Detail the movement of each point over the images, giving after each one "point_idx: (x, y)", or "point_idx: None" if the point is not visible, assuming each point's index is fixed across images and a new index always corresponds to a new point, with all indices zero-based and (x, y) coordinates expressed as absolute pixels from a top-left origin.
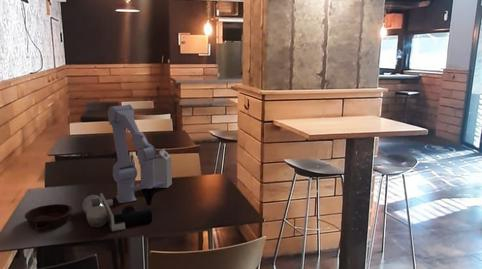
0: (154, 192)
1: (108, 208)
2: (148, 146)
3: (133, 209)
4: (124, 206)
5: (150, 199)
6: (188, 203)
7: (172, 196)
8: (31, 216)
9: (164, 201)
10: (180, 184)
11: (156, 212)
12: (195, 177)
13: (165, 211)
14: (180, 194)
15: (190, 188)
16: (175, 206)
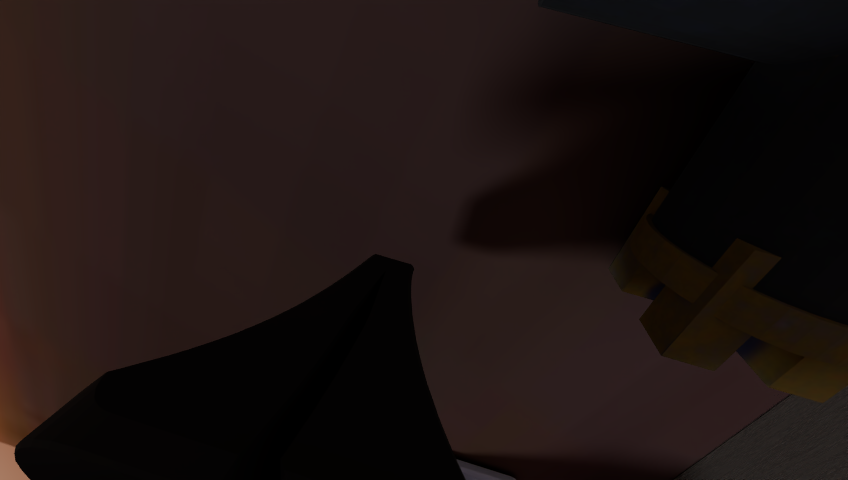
0: (143, 366)
1: None
2: None
3: (844, 181)
4: (799, 386)
5: (345, 297)
6: (3, 136)
7: (145, 343)
8: None
9: (216, 313)
10: None
11: (360, 141)
12: (13, 436)
13: (258, 95)
14: (87, 334)
15: (24, 361)
16: (133, 154)
